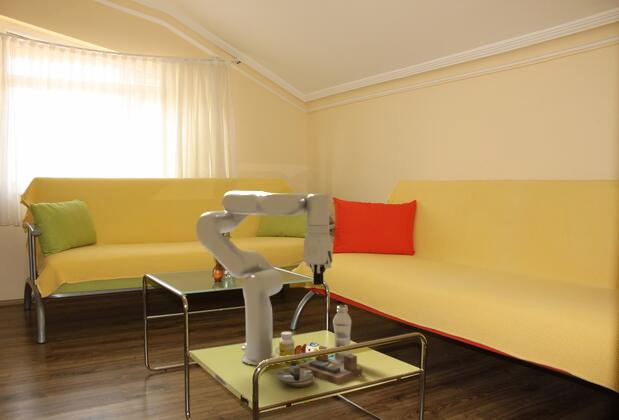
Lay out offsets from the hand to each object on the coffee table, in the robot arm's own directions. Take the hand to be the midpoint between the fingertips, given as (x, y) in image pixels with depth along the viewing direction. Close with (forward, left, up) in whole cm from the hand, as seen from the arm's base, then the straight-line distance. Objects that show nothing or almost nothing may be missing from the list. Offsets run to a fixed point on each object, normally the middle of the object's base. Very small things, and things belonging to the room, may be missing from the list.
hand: (318, 284), depth 180 cm
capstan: (+4, -15, -29) cm, 33 cm away
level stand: (+5, 0, -29) cm, 30 cm away
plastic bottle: (+1, +11, -29) cm, 31 cm away
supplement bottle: (-15, -1, -29) cm, 33 cm away
